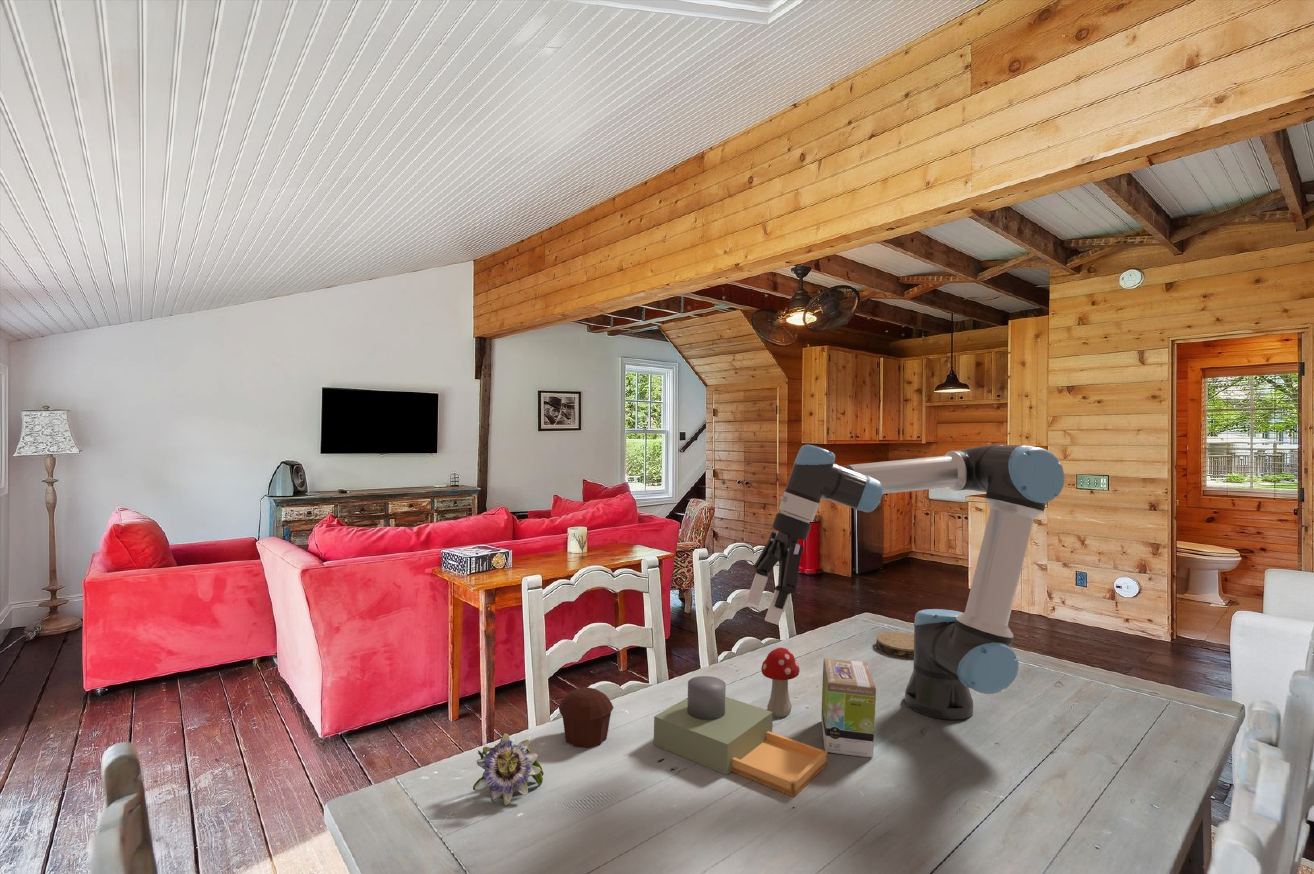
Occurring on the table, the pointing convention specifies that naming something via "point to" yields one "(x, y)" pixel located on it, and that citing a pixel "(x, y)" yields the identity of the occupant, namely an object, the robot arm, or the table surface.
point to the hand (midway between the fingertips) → (761, 612)
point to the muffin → (586, 717)
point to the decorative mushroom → (780, 679)
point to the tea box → (848, 707)
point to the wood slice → (896, 644)
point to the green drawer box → (735, 738)
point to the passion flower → (508, 769)
